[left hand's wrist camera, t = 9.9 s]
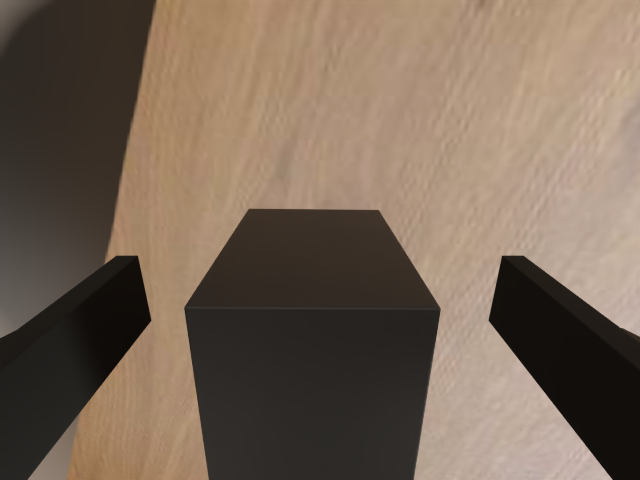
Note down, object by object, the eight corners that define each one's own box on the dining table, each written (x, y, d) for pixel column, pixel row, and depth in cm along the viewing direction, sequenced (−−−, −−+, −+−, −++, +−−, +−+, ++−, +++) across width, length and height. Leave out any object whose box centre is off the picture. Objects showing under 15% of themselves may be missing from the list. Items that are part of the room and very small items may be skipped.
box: (248, 208, 16) (183, 307, 8) (379, 209, 16) (442, 308, 8) (267, 521, 24) (243, 727, 16) (355, 520, 24) (375, 725, 16)
